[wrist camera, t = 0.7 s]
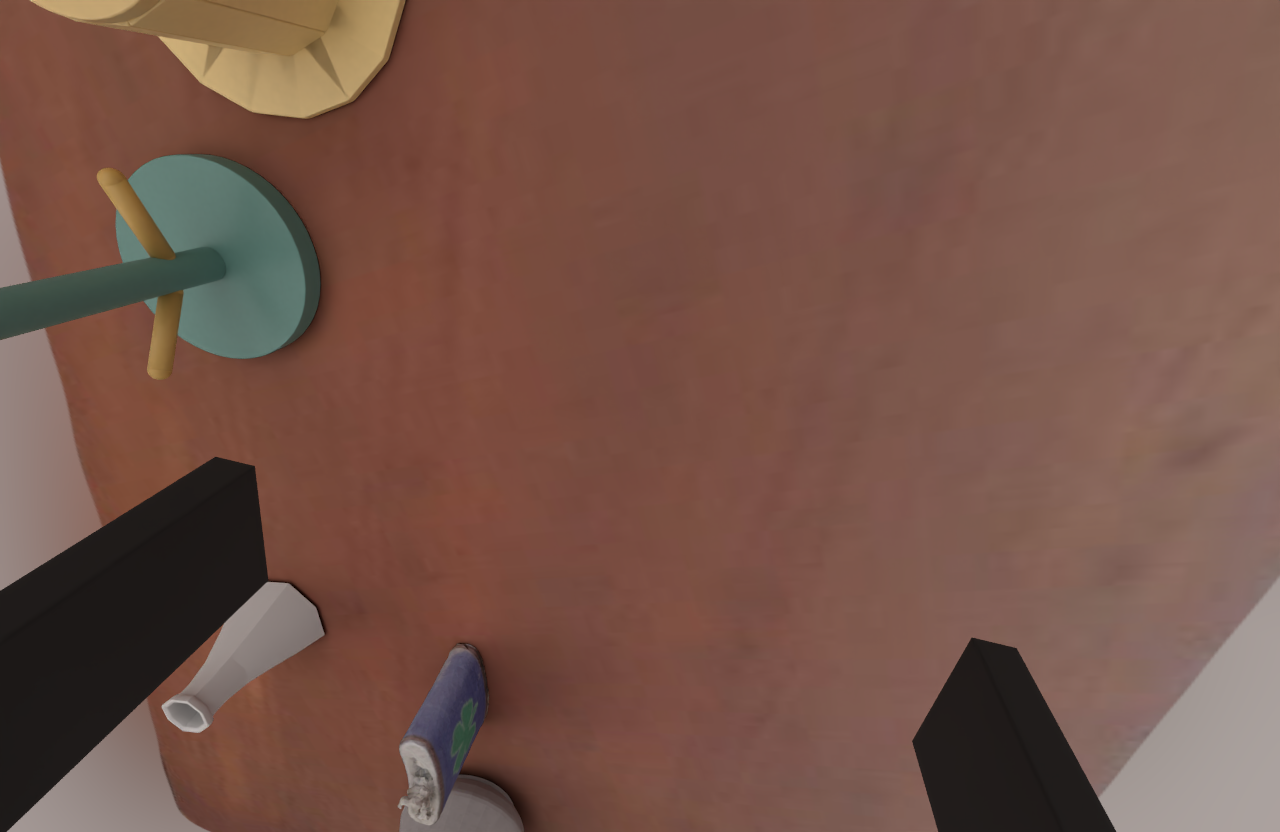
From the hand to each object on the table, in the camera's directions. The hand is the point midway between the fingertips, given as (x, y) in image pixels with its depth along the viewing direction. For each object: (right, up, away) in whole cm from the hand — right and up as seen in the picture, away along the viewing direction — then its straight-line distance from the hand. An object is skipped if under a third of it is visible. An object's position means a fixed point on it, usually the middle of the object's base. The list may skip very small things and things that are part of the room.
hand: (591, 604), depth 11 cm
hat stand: (-25, +13, +27) cm, 38 cm away
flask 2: (-13, -19, +39) cm, 45 cm away
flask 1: (-28, -13, +39) cm, 50 cm away
